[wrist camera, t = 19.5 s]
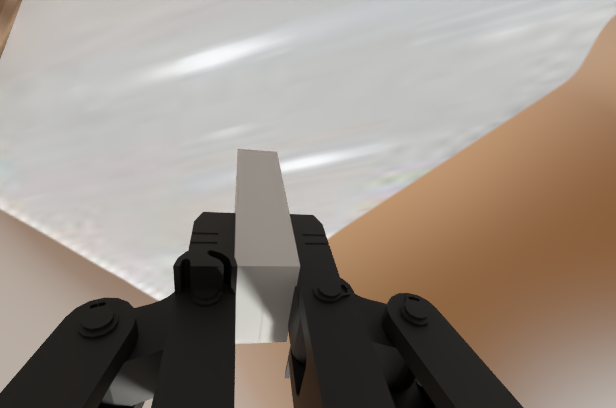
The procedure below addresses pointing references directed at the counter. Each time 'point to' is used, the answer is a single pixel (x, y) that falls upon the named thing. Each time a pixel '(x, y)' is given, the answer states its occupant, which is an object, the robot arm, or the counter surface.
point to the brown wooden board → (7, 19)
